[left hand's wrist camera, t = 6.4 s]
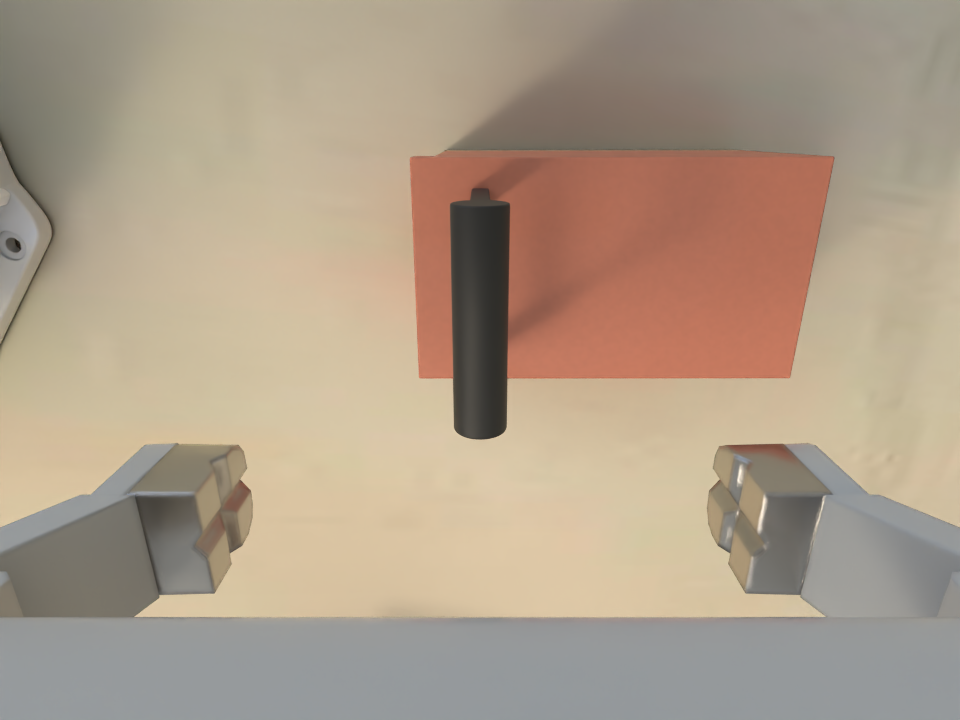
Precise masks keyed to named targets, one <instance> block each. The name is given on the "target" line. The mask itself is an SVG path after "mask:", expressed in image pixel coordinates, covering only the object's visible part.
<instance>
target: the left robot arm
mask: <svg viewBox="0 0 960 720" xmlns="http://www.w3.org/2000/svg"><path fill="white" fill-rule="evenodd" d="M51 237H52V228H51V225H50V222H49V220H48V218H47V217H46V215H45V214H44V212H43V211H42V209H41V208H40V207H39V206H38V204H37V203H36V202H35V201H34V199H33V198H32V197H31V196H30V195H29V193H28V192H27V191H26V190H25V189H24V188H23V187H22V185H21V184H20V183H19V182H18V180H17V178H16V177H15V175H14V173H13V171H12V169H11V166H10V164H9V162H8V159H7V157H6V154H5V152H4V149H3V147H2V144H1V142H0V343H1V341H2V339H3V337H4V335H5V333H6V331H7V329H8V327H9V325H10V323H11V321H12V319H13V317H14V315H15V313H16V311H17V309H18V306H19V304H20V302H21V300H22V298H23V296H24V294H25V292H26V290H27V288H28V286H29V284H30V282H31V280H32V278H33V276H34V274H35V271H36V269H37V267H38V265H39V263H40V261H41V259H42V257H43V255H44V253H45V251H46V249H47V247H48V245H49V243H50V240H51ZM15 239H17V240H18V241H19V242H20V244H21V249H19V248H18V247H17V246H16V244H15ZM246 469H247V465H246V460H245V455H244V451H243V450H242V449H241V448H240V446H239V445H209V444H178V443H171V444H149V445H144V446H143V447H142V448H141V449H140V450H139V451H138V452H137V453H136V454H135V455H133V456H132V457H131V458H130V459H129V460H128V461H127V462H126V463H125V464H124V465H123V466H121V467H120V468H119V469H118V470H117V471H116V472H115V473H114V474H113V475H112V476H111V477H109V478H108V479H107V480H106V481H105V482H104V483H103V484H102V485H101V486H100V487H99V488H97V489H96V490H95V491H94V492H93V493H92V494H91V495H79V496H77V497H74V498H72V499H69V500H67V501H64V502H62V503H59V504H57V505H55V506H52V507H50V508H47V509H45V510H42V511H40V512H37V513H35V514H32V515H30V516H27V517H25V518H23V519H20V520H18V521H15V522H13V523H10V524H8V525H5V526H3V527H0V720H960V528H959V527H957V526H955V525H952V524H950V523H947V522H945V521H942V520H940V519H937V518H935V517H932V516H930V515H928V514H925V513H923V512H920V511H918V510H915V509H913V508H910V507H908V506H905V505H903V504H900V503H898V502H896V501H893V500H891V499H888V498H886V497H883V496H881V495H869V494H868V493H867V492H866V491H865V490H864V489H863V488H861V487H860V486H859V485H858V484H857V483H856V482H855V481H854V480H853V479H852V478H851V477H850V476H848V475H847V474H846V473H845V472H844V471H843V470H842V469H841V468H840V467H839V466H838V465H836V464H835V463H834V462H833V461H832V460H831V459H830V458H829V457H828V456H827V455H826V454H825V453H823V452H822V451H821V450H820V449H819V448H818V447H817V446H816V445H812V444H809V443H801V444H758V445H725V446H719V448H718V450H717V452H716V455H715V459H714V465H713V469H714V471H715V472H716V474H717V475H718V477H719V479H720V480H719V481H718V482H717V483H716V484H715V485H714V486H713V487H712V488H711V489H710V490H709V496H708V504H707V513H708V524H709V527H710V530H711V533H712V536H713V538H714V540H715V541H716V543H717V545H718V546H719V547H721V548H722V549H724V550H726V551H727V552H729V553H730V558H729V566H730V568H731V569H732V571H733V573H734V574H735V576H736V578H737V580H738V581H739V583H740V585H741V586H742V588H743V590H744V591H745V593H749V594H786V595H801V596H800V597H801V598H802V599H803V600H805V601H806V602H807V603H809V604H810V605H811V606H813V607H814V608H815V609H817V610H818V611H819V612H821V613H822V614H823V615H825V616H826V617H134V616H135V615H137V614H138V613H140V612H141V611H142V610H144V609H145V608H146V607H148V606H149V605H150V604H152V603H153V602H154V601H156V600H157V599H158V598H159V595H173V594H209V593H215V592H216V590H217V588H218V586H219V585H220V583H221V581H222V580H223V578H224V576H225V574H226V573H227V571H228V569H229V568H230V566H231V558H230V553H231V552H233V551H234V550H236V549H238V548H239V547H241V546H242V545H243V543H244V541H245V540H246V538H247V536H248V534H249V530H250V526H251V522H252V517H253V502H252V495H251V490H250V489H249V488H248V487H247V486H246V485H245V484H244V483H243V482H242V481H241V480H240V479H241V477H242V475H243V474H244V472H245V471H246Z"/></svg>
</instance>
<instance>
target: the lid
mask: <svg viewBox="0 0 960 720" xmlns="http://www.w3.org/2000/svg"><path fill="white" fill-rule="evenodd" d="M833 162H834V157H833V156H413V157H411V158H410V172H411V196H412V220H413V244H414V268H415V291H416V315H417V339H418V363H419V378H453V395H454V428H455V430H456V432H457V433H458V434H460V435H461V436H464V437H466V438H470V439H490V438H494V437H497V436H499V435H501V434H502V433H504V431H505V430H506V427H507V378H790V375H791V370H792V365H793V360H794V355H795V350H796V345H797V340H798V335H799V330H800V325H801V320H802V315H803V310H804V305H805V301H806V296H807V291H808V286H809V281H810V276H811V271H812V266H813V261H814V256H815V251H816V246H817V241H818V236H819V231H820V227H821V222H822V217H823V212H824V207H825V202H826V197H827V192H828V187H829V182H830V177H831V172H832V167H833Z"/></svg>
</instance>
